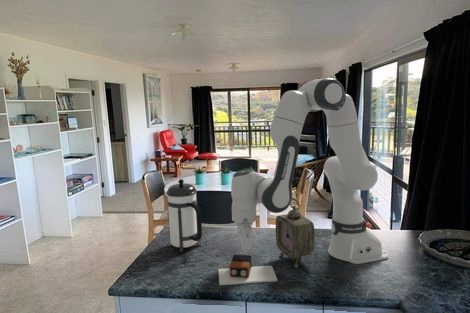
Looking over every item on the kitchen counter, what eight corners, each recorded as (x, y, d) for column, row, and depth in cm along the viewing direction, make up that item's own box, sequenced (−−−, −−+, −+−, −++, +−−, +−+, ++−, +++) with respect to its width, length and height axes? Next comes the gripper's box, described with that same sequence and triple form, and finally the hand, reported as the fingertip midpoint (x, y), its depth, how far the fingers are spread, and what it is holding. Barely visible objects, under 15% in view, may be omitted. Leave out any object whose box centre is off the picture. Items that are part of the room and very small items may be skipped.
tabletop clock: (275, 255, 132) (275, 195, 128) (294, 250, 135) (295, 192, 131) (295, 271, 118) (295, 205, 115) (315, 266, 122) (316, 201, 118)
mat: (271, 267, 122) (271, 265, 122) (277, 281, 112) (277, 279, 112) (218, 270, 121) (218, 269, 120) (219, 285, 111) (219, 283, 111)
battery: (251, 265, 122) (248, 279, 112) (233, 264, 123) (229, 278, 114) (251, 254, 122) (248, 268, 112) (233, 254, 123) (228, 267, 113)
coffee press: (161, 254, 135) (156, 183, 131) (173, 238, 151) (169, 175, 146) (202, 255, 133) (199, 184, 129) (209, 239, 149) (207, 175, 144)
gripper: (257, 224, 107) (257, 264, 109) (249, 205, 127) (250, 239, 129) (237, 225, 106) (238, 265, 108) (233, 206, 126) (234, 240, 129)
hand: (244, 251), depth 119 cm, fingers closed
